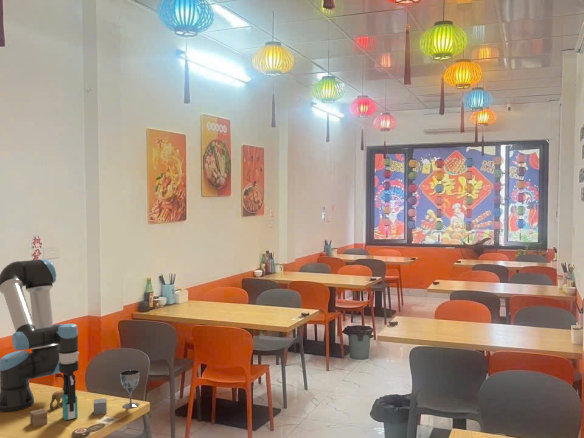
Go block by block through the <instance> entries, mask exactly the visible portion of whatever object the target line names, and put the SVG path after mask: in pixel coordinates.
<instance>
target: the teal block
mask: <svg viewBox="0 0 584 438" xmlns="http://www.w3.org/2000/svg"><path fill="white" fill-rule="evenodd" d="M75 395H76V403H75V418H74V419H76V418H78V417H79V415H78V414H79V413H78V395H77V393H75ZM61 402H62V403H61V404H62V418H63V419H64V421H67V420H69V419H68V404H66V403H68V394H66V395H62V399H61Z"/></svg>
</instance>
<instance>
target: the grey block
mask: <svg viewBox="0 0 584 438" xmlns="http://www.w3.org/2000/svg"><path fill="white" fill-rule="evenodd" d="M107 401H108V400H107V398H106V397H105V398H99V399H96V398H95V399H94V400H93V415H94V416H99V415H106V414H107V411H108V407H107V405H108V404H107Z"/></svg>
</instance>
